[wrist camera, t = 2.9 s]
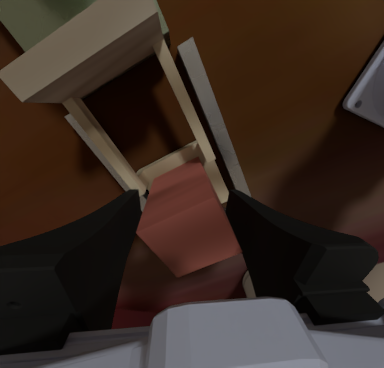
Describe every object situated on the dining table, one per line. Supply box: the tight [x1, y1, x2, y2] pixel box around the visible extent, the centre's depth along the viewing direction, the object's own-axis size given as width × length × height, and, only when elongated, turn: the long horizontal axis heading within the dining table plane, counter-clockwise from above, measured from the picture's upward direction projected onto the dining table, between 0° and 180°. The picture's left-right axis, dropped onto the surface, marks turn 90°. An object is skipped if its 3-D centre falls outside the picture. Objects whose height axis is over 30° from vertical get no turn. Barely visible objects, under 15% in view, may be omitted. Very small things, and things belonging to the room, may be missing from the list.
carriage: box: [0, 0, 242, 278], centre depth 9 cm, size 12×6×7 cm, turn 26°
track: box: [0, 0, 251, 214], centre depth 10 cm, size 24×9×2 cm, turn 26°
